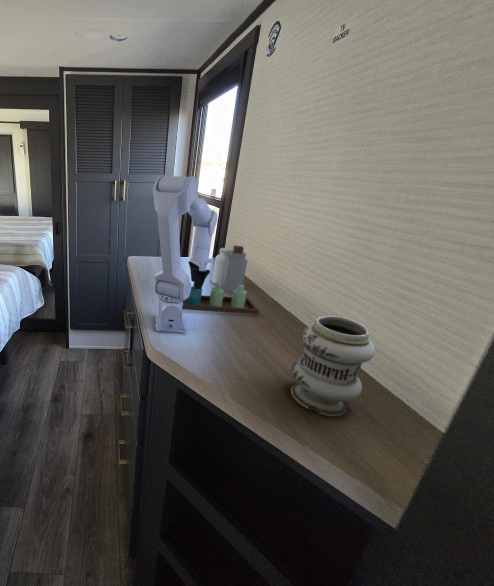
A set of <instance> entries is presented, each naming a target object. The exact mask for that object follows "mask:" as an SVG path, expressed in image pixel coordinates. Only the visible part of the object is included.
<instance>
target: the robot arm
mask: <svg viewBox="0 0 494 586" xmlns="http://www.w3.org/2000/svg"><path fill="white" fill-rule="evenodd" d="M198 189H199V183H198V180H197V178H196V177H195V176H193V175H191V176H173V175H171V176H170V175H163V174H162V175H159V176H158V177H157V179H156V180H155V183H154V185H153V188H152V195H153V205H154V210H155V212H156V213H157V223H158V225H157V226H158V235H159V244H160V245H159V246H160V255H161V266H162V268H160V269H159V270H158V271H157V272H156V273H155V275H154V283H153V290H154V292H155V294H157V295H156V297H157V298H158V306H157V307H158V308H157V316H155V317H154V319H155V329H156V330H155V331H156V332H163V333H164V332H165V333H179V334H183V333H184V332H185V331H184V328H182V320H183V319H182V318H183V309H182V307H183V301H185V300H186V299H187V298H188V297H189V295H190V292H191V287H192V283H193V284H194V287H195V289H201V288H202V289H203V286H204V284H205V282H206V281H205V280H206V279H207V277H208V276H209V274H211V270H210V269H207V267H208V265H209V263H210V264H212V262H213V260H212V258H211V259H210V253H211V246H212V237H213V234H214V233H215V230H216V225H217V223H218V213H217V212H216V211H215V210H212V209H211V208H210V207H209V205H208V203H207V201H206V200H205V199H204V197H199V195H198ZM187 213H188V214H189V216H190V217H191V223H192V227H194V232H193V239H192V245H191V246H192V247H191V257H190V259H189V260H188V265H189V271H190V275H189V274H188V273H187V271H185V270H184V269H183V268H182V264H181V262H182V260H181V243H180V241H181V240H180V223H179V217H180V216H183V215H185V214H187ZM191 282H192V283H191Z"/></svg>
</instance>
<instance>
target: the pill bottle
mask: <svg viewBox="0 0 494 586" xmlns="http://www.w3.org/2000/svg"><path fill="white" fill-rule="evenodd" d="M229 250H233V248H229V247H221V248H220V249H219V251H218V253H219V254H217V255H216V256H215V258H214V265H213V271H212V279H211V282H212V283H213V284H214V285H216V283H219V284H221V283H222V277H223V271H224V265H225V260H226V255H229Z"/></svg>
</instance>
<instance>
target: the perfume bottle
mask: <svg viewBox="0 0 494 586" xmlns="http://www.w3.org/2000/svg"><path fill="white" fill-rule="evenodd" d="M244 248H245V247H244V246H242V245H233V246H232V249H233V250H229V255H226V260H225V265H224V271H223V277H222V283H221V284H222V286H221V288H222V289H224V291H232V292H233V290H234V289H237V288H238V285H244V281H245V275H246V270H247V266H248V259H247V258H246V256H247V253H246V252H245V251H244V250H245V249H244Z"/></svg>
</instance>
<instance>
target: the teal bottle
mask: <svg viewBox="0 0 494 586" xmlns="http://www.w3.org/2000/svg"><path fill="white" fill-rule="evenodd" d="M202 293H203V287H202V288H201V289H195V287H194V283H193V284H192V285H191V292H190V295H189V297H188V305H200V302H201V295H202Z"/></svg>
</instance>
